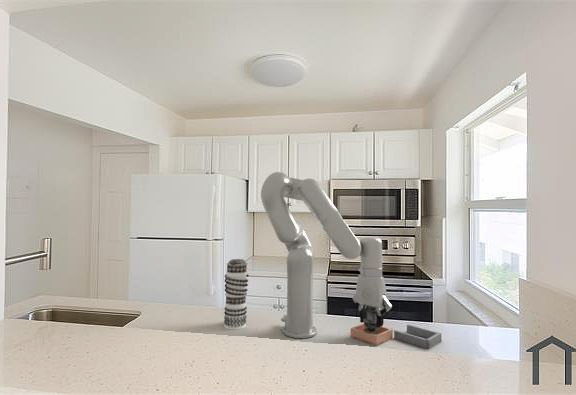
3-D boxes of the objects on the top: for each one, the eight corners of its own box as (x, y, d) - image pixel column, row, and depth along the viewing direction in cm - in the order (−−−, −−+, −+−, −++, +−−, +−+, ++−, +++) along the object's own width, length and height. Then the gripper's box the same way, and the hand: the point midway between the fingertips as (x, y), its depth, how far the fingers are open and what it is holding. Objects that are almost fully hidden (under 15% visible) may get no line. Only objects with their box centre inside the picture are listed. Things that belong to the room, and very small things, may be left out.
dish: (350, 336, 110) (350, 328, 110) (367, 330, 117) (367, 321, 117) (376, 345, 102) (376, 336, 102) (392, 338, 109) (392, 329, 109)
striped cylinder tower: (229, 320, 125) (231, 257, 126) (250, 323, 122) (252, 259, 124) (218, 328, 116) (220, 260, 118) (241, 331, 113) (243, 261, 115)
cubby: (394, 338, 109) (394, 330, 109) (408, 331, 116) (408, 324, 117) (428, 348, 100) (428, 340, 101) (441, 340, 108) (441, 333, 108)
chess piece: (380, 334, 106) (380, 299, 107) (363, 333, 107) (363, 297, 108) (379, 328, 112) (379, 295, 113) (362, 327, 113) (362, 294, 114)
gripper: (345, 270, 115) (345, 320, 113) (387, 277, 102) (388, 333, 101) (357, 268, 120) (357, 316, 119) (399, 274, 107) (399, 328, 106)
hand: (371, 323), depth 110 cm, fingers closed on chess piece, 5 cm apart
